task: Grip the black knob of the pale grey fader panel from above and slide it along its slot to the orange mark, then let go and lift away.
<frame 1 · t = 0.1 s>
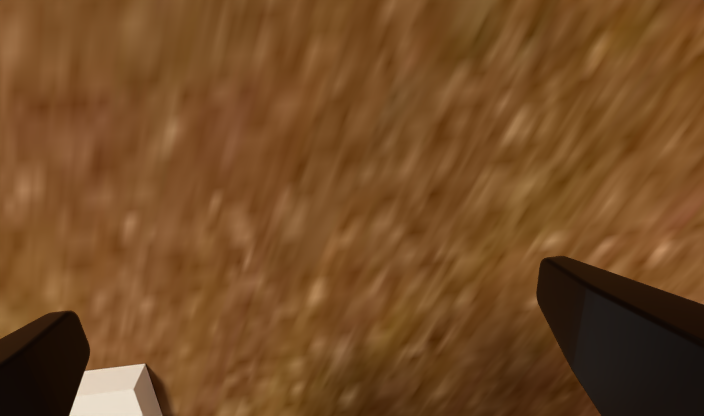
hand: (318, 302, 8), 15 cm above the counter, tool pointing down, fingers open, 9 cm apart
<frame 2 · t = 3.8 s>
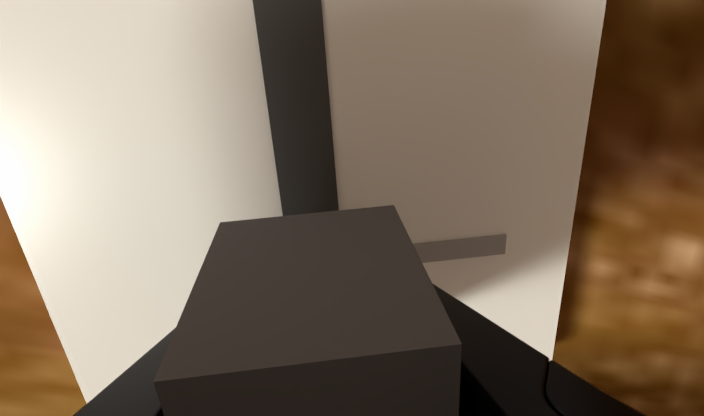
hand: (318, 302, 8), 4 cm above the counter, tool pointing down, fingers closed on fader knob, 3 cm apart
fader knob: (321, 351, 7), point 5 cm above the counter, slide at 5.0 cm, touching gripper
fader panel: (292, 24, 10), on the counter
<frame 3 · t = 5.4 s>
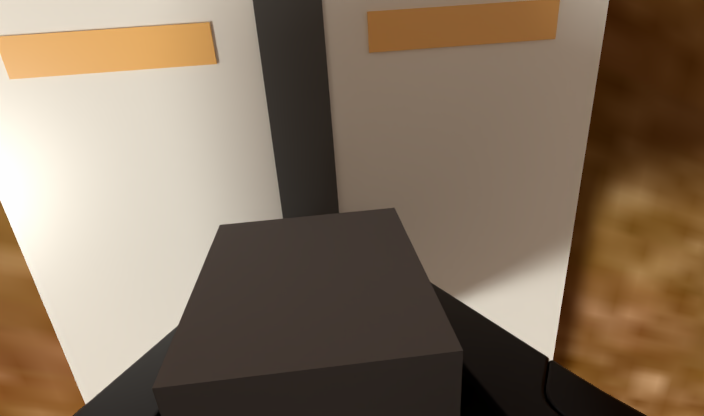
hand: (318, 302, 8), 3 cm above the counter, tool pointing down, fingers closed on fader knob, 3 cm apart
fader knob: (321, 354, 7), point 5 cm above the counter, slide at -0.2 cm, touching gripper
fader panel: (315, 233, 12), on the counter
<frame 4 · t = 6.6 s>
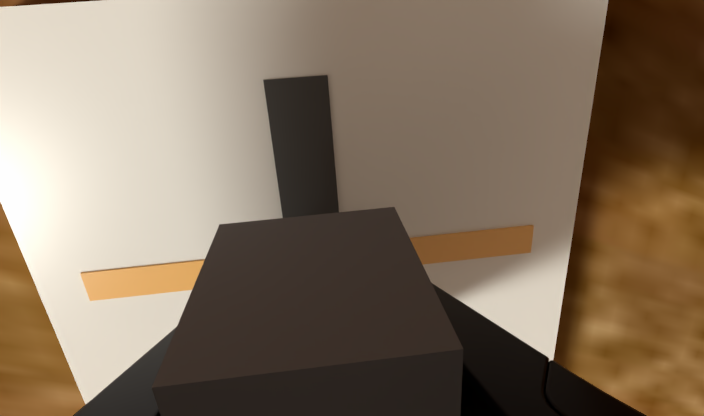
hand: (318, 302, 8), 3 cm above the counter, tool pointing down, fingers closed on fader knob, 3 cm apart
fader knob: (321, 354, 7), point 5 cm above the counter, slide at -4.9 cm, touching gripper
fader panel: (330, 368, 14), on the counter
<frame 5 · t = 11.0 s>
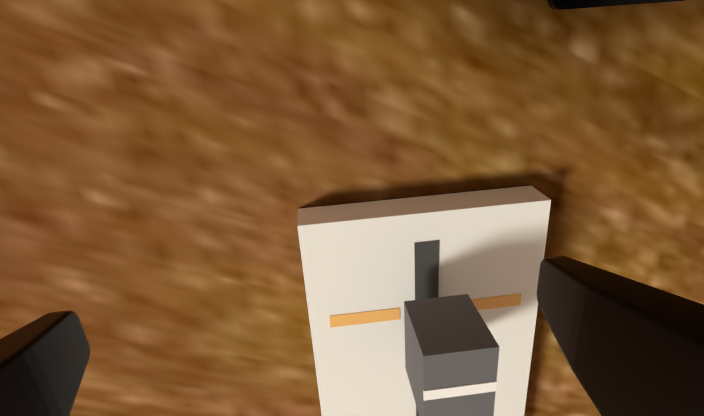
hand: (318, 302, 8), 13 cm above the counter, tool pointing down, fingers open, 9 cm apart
fader knob: (442, 349, 20), point 5 cm above the counter, slide at -5.0 cm
fader panel: (417, 358, 26), on the counter
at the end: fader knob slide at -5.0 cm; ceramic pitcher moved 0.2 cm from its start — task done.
